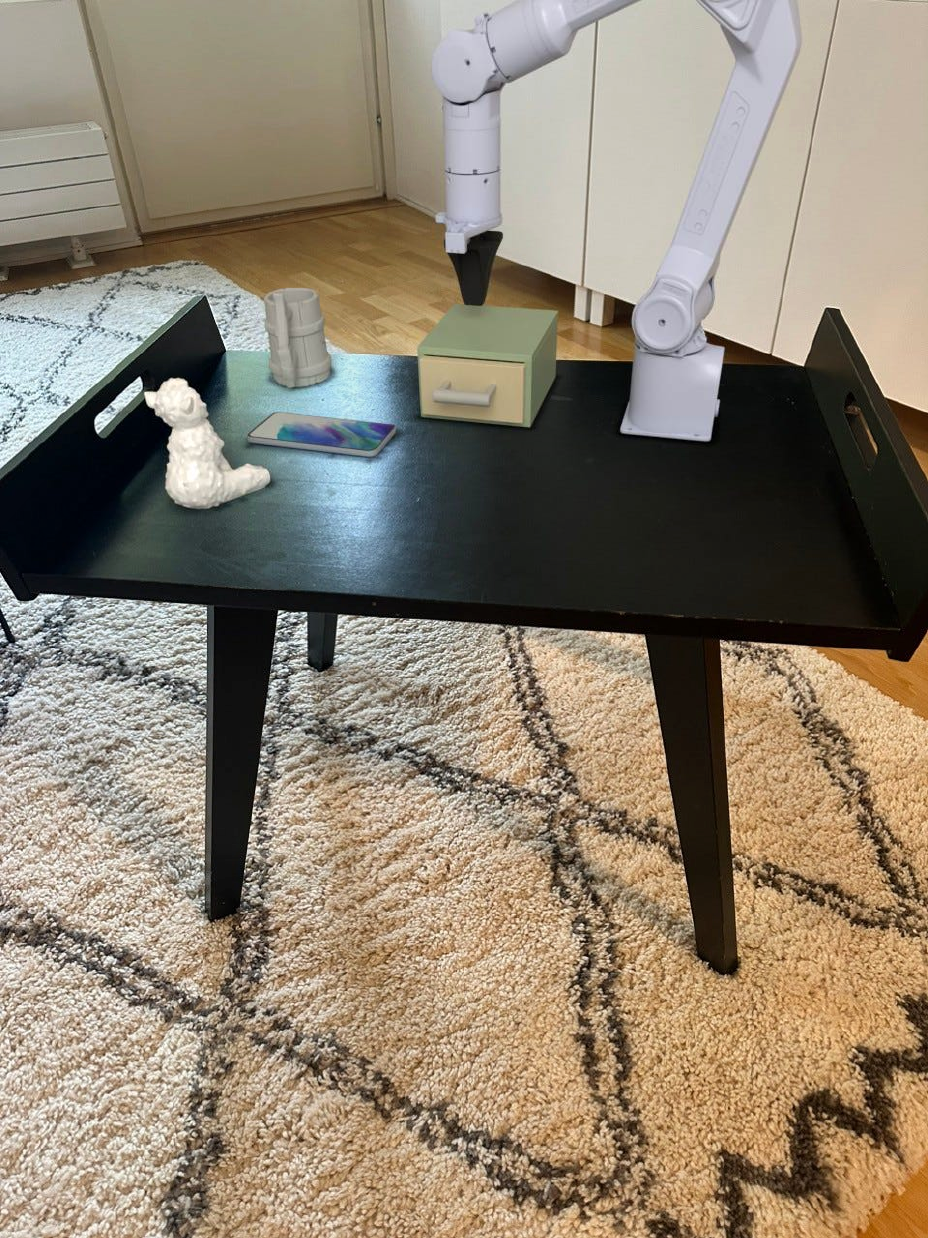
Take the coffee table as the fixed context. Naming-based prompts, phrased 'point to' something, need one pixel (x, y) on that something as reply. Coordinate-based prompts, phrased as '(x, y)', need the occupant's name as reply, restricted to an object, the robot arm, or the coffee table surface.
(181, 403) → the white creature statuette
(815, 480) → the coffee table surface
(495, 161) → the robot arm
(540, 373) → the cabinet
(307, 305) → the mug
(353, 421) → the smartphone
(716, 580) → the coffee table surface
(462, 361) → the drawer
